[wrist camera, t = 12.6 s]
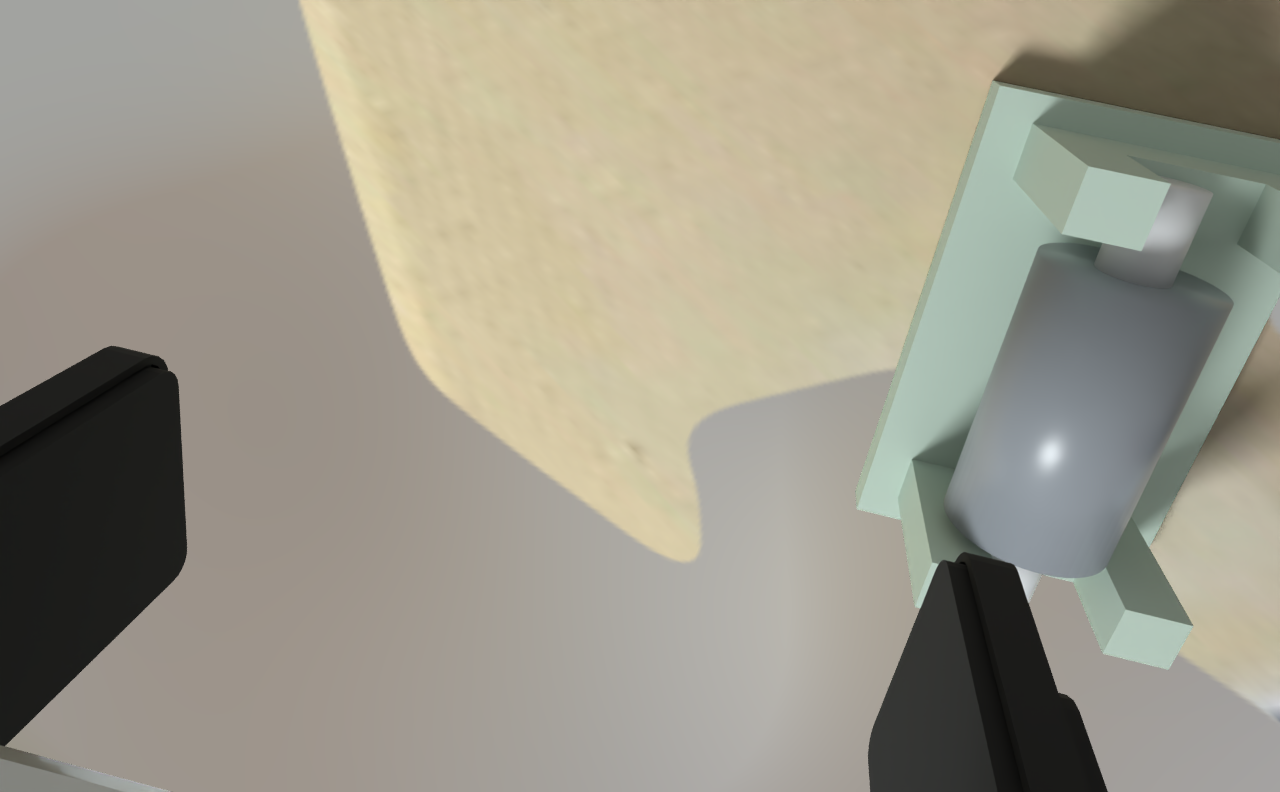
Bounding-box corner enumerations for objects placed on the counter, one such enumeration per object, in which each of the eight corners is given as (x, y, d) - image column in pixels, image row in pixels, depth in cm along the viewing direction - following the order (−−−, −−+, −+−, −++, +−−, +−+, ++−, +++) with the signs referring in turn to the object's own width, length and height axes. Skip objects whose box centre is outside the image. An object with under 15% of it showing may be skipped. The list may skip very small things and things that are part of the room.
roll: (1096, 151, 33) (1048, 165, 28) (1287, 201, 30) (1269, 225, 25) (951, 525, 40) (895, 584, 35) (1094, 595, 37) (1053, 669, 32)
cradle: (992, 80, 34) (1048, 119, 26) (1329, 150, 33) (1495, 212, 25) (855, 491, 42) (865, 618, 34) (1123, 555, 41) (1199, 701, 33)
